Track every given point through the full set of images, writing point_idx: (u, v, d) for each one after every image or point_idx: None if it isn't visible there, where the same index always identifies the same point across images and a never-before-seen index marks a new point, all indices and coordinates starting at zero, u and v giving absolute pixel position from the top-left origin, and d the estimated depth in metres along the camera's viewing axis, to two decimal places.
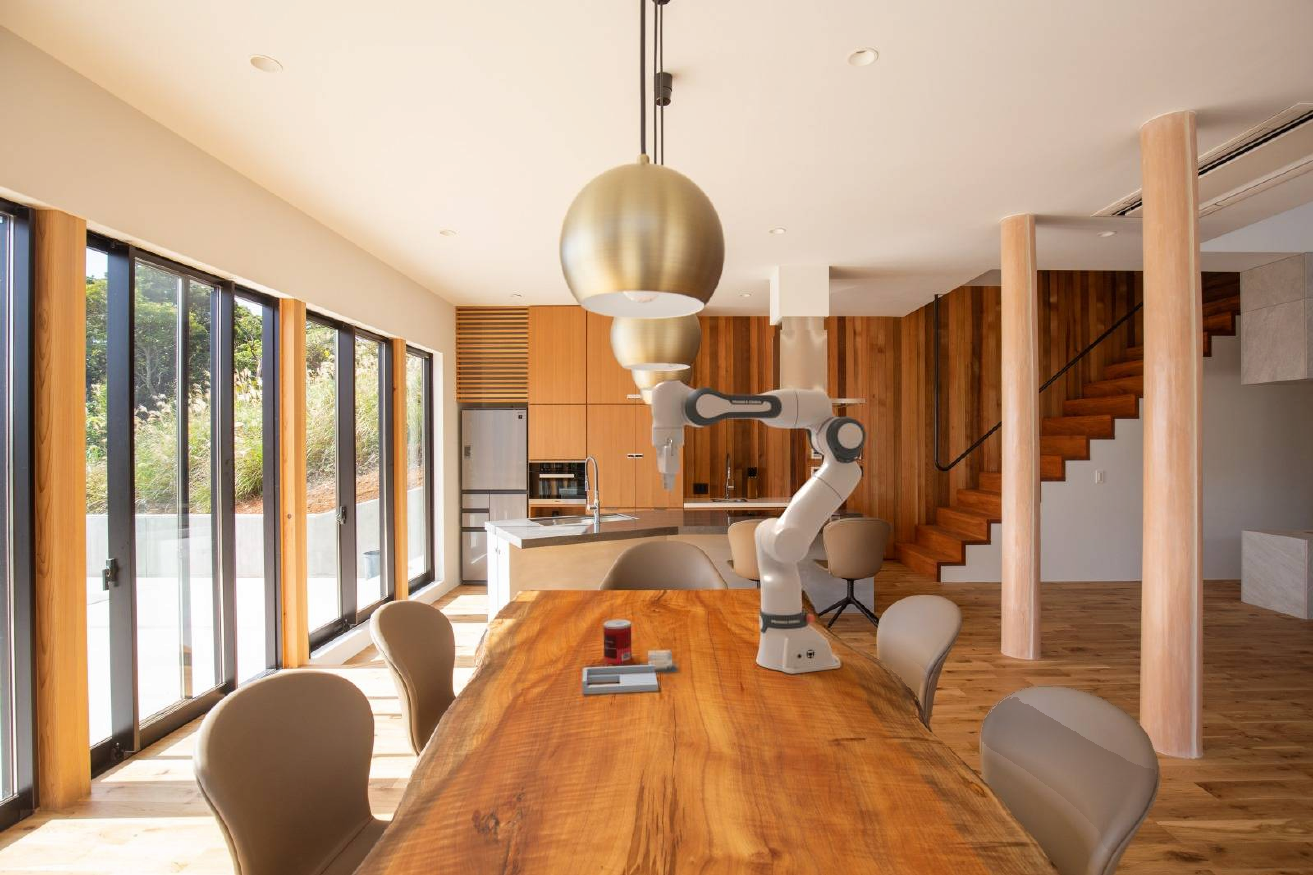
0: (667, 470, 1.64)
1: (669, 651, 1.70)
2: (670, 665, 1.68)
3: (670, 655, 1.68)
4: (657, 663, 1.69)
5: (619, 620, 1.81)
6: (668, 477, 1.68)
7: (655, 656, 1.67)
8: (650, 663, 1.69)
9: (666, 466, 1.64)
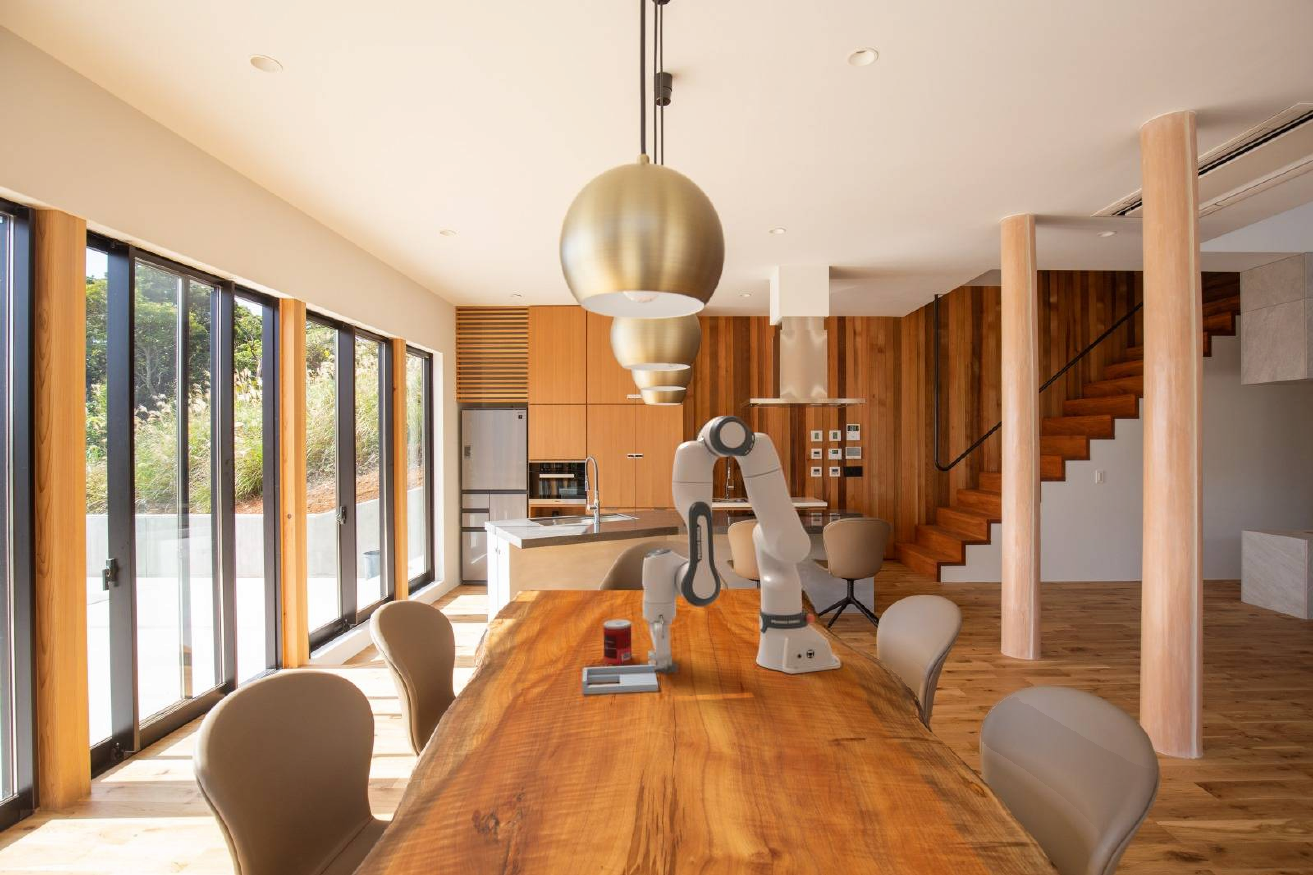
0: (658, 654, 1.60)
1: None
2: (670, 665, 1.68)
3: (670, 655, 1.68)
4: None
5: (619, 620, 1.81)
6: None
7: (655, 656, 1.67)
8: (650, 663, 1.69)
9: (657, 649, 1.60)
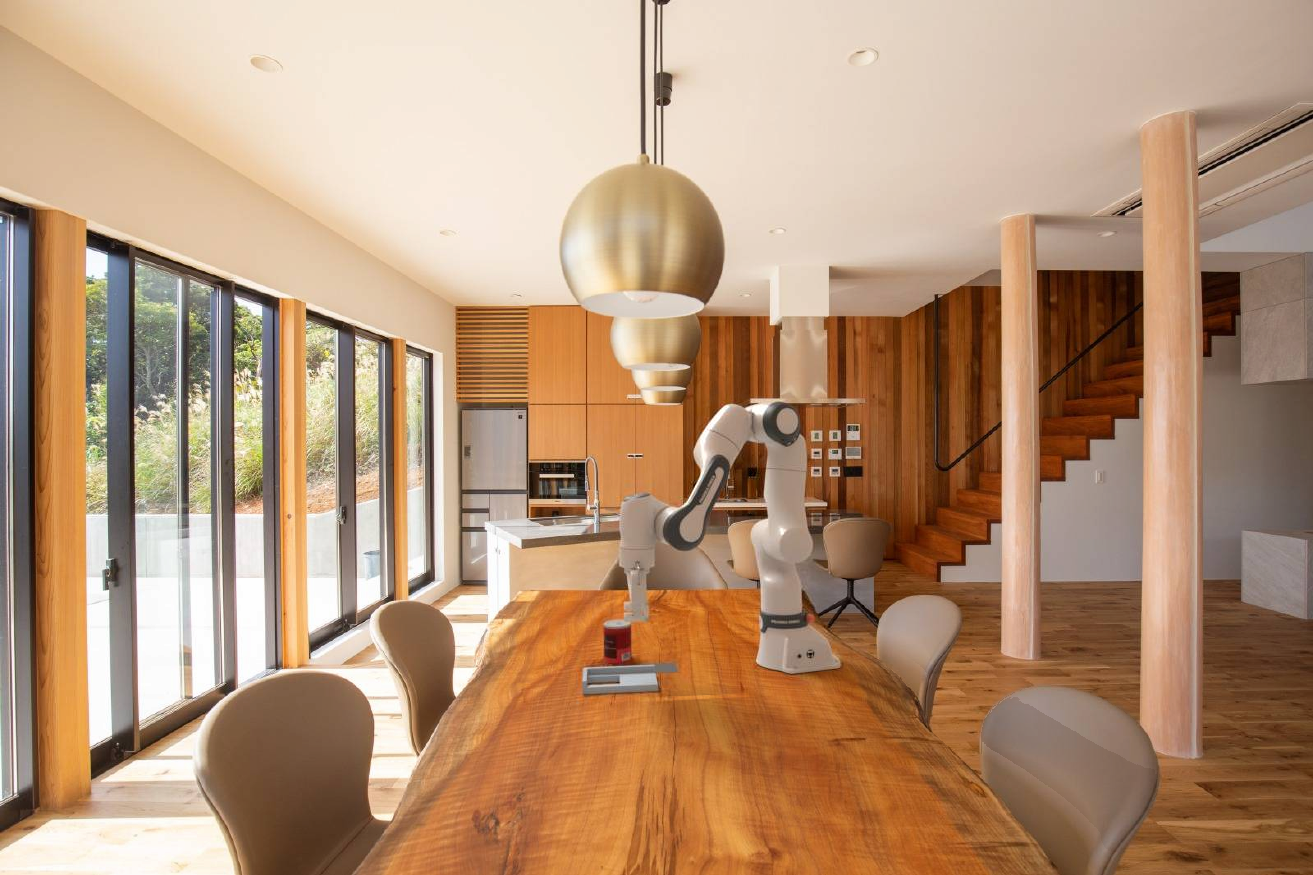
0: (633, 601, 1.48)
1: (646, 602, 1.59)
2: (647, 616, 1.56)
3: (647, 606, 1.56)
4: None
5: (619, 620, 1.81)
6: (634, 604, 1.54)
7: (631, 606, 1.56)
8: (626, 614, 1.58)
9: (632, 597, 1.48)
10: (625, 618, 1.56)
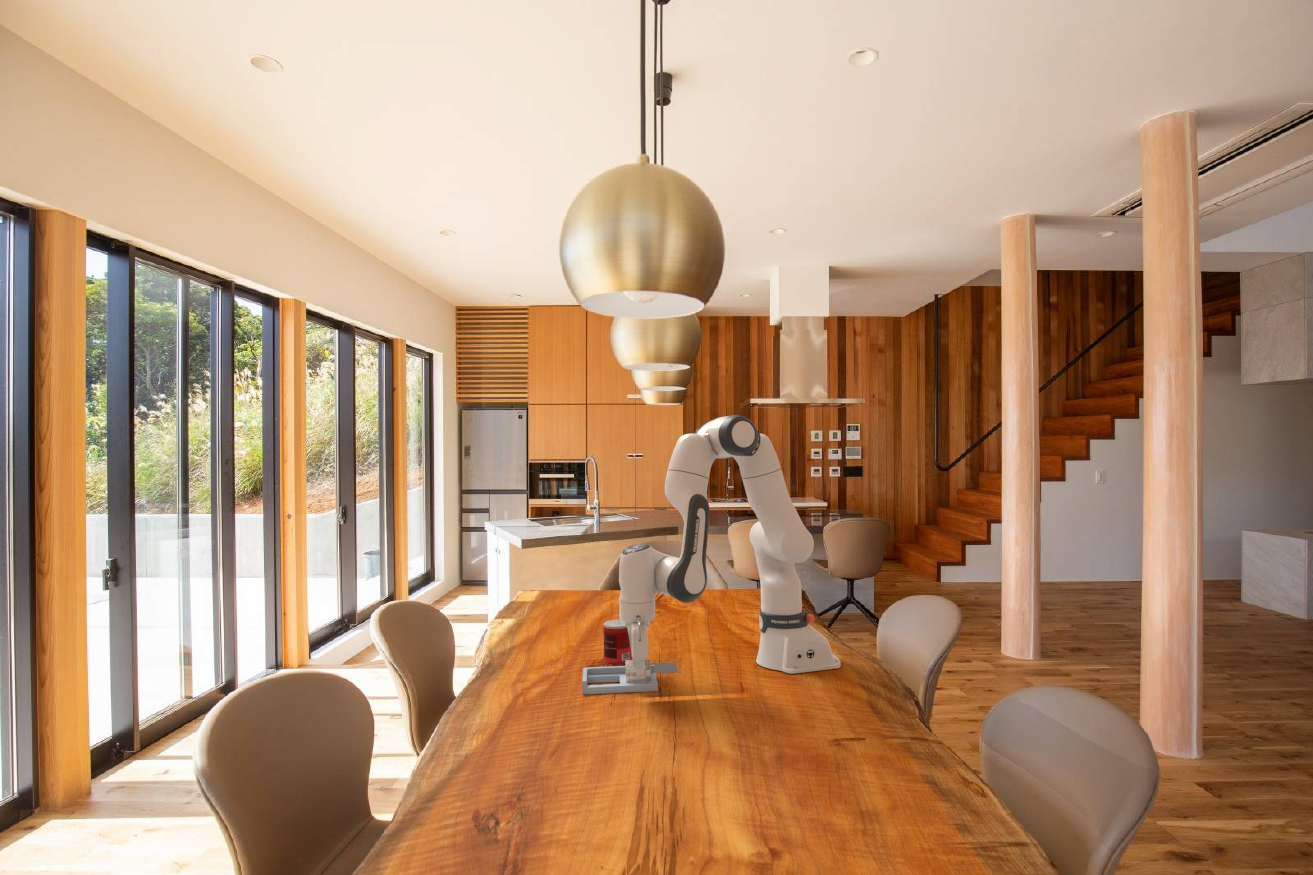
0: (634, 658, 1.47)
1: (648, 660, 1.58)
2: (648, 676, 1.55)
3: (648, 665, 1.55)
4: (635, 673, 1.57)
5: (619, 620, 1.81)
6: (636, 661, 1.51)
7: (632, 666, 1.55)
8: (627, 673, 1.57)
9: (633, 653, 1.47)
10: (627, 678, 1.55)
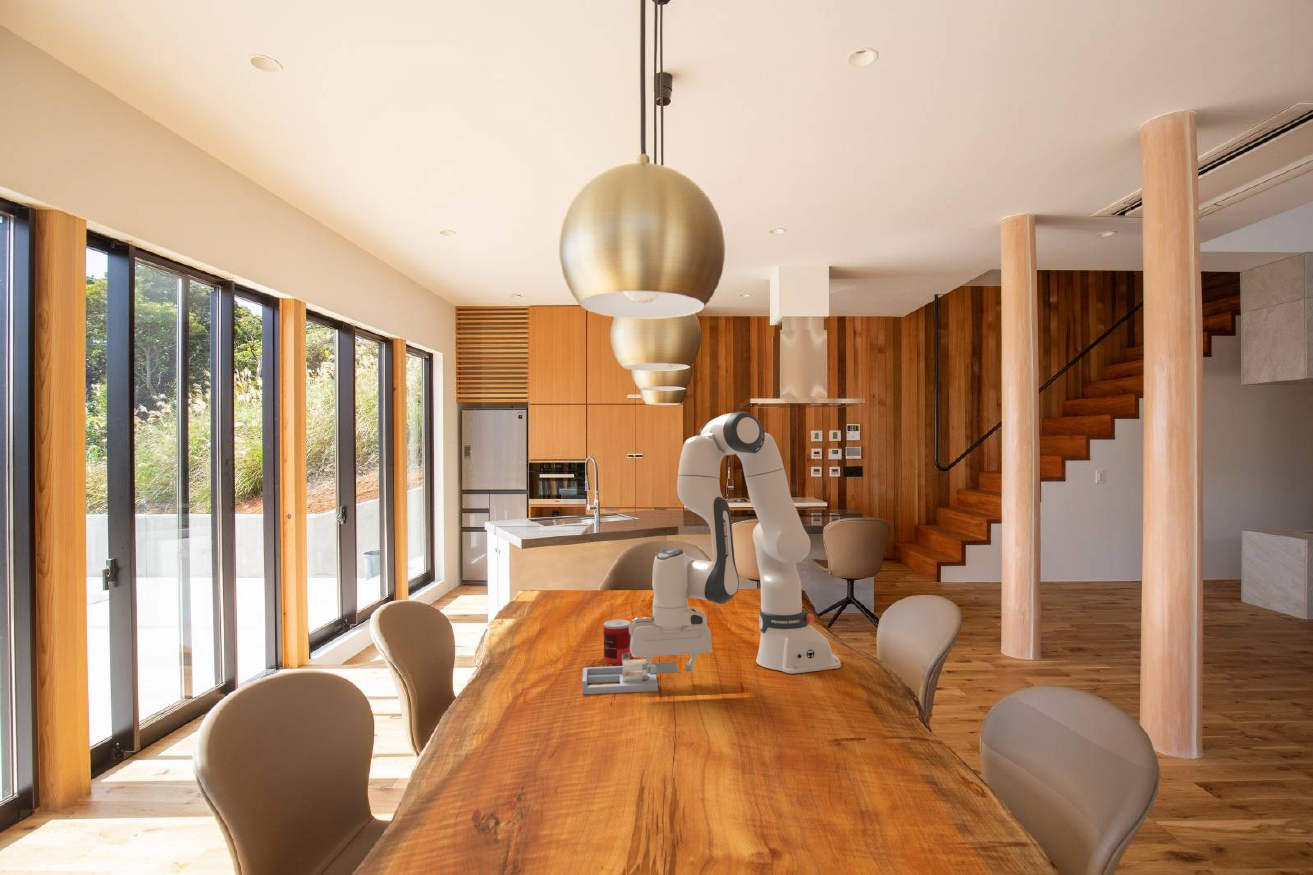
0: None
1: (645, 660, 1.58)
2: (645, 676, 1.55)
3: (645, 665, 1.55)
4: (632, 673, 1.57)
5: (619, 620, 1.81)
6: (645, 658, 1.57)
7: (629, 666, 1.55)
8: (624, 673, 1.57)
9: None
10: (623, 678, 1.55)
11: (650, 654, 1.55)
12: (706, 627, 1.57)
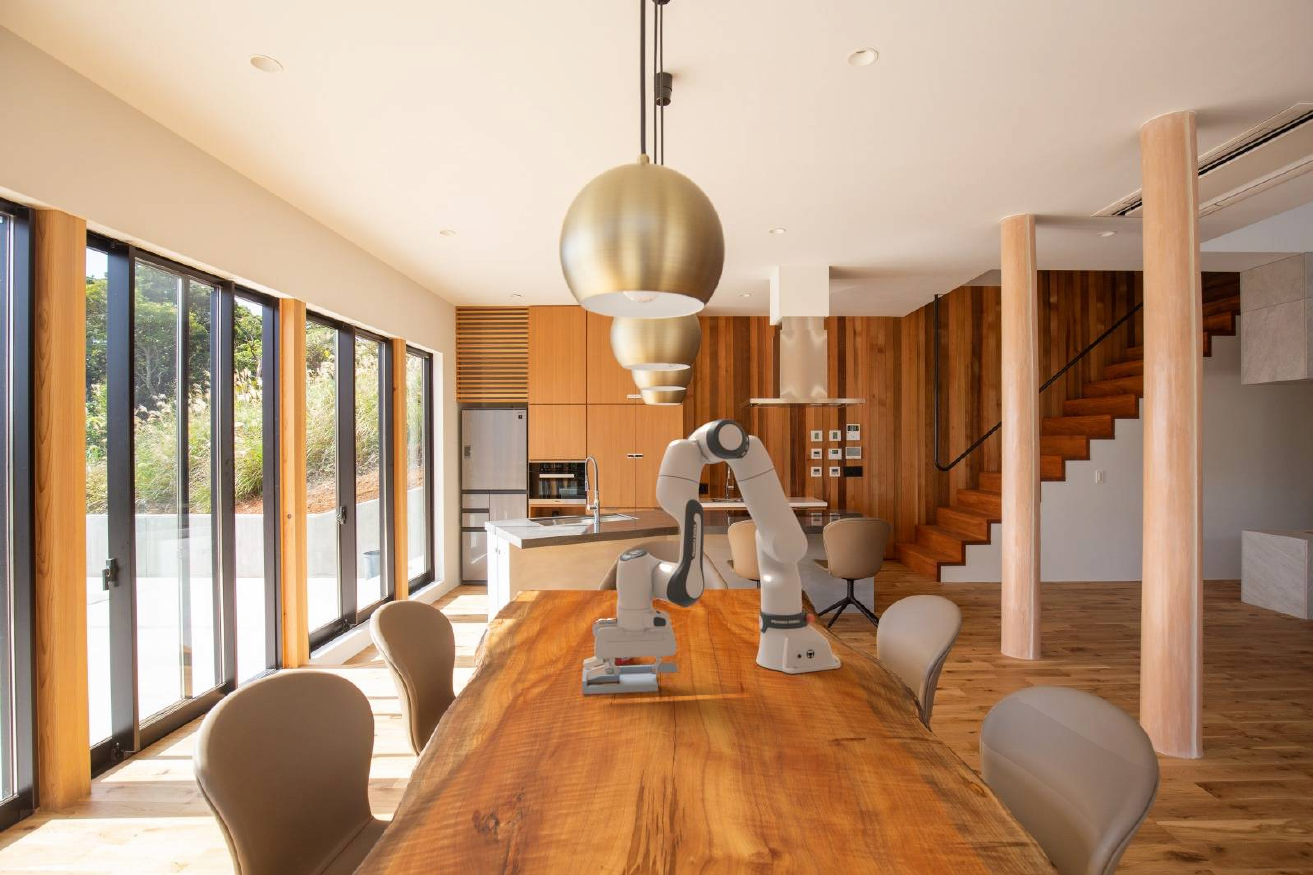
0: None
1: None
2: (608, 668, 1.55)
3: None
4: (596, 669, 1.57)
5: None
6: None
7: (590, 663, 1.55)
8: (588, 672, 1.56)
9: None
10: (588, 676, 1.54)
11: (613, 655, 1.55)
12: (670, 629, 1.55)
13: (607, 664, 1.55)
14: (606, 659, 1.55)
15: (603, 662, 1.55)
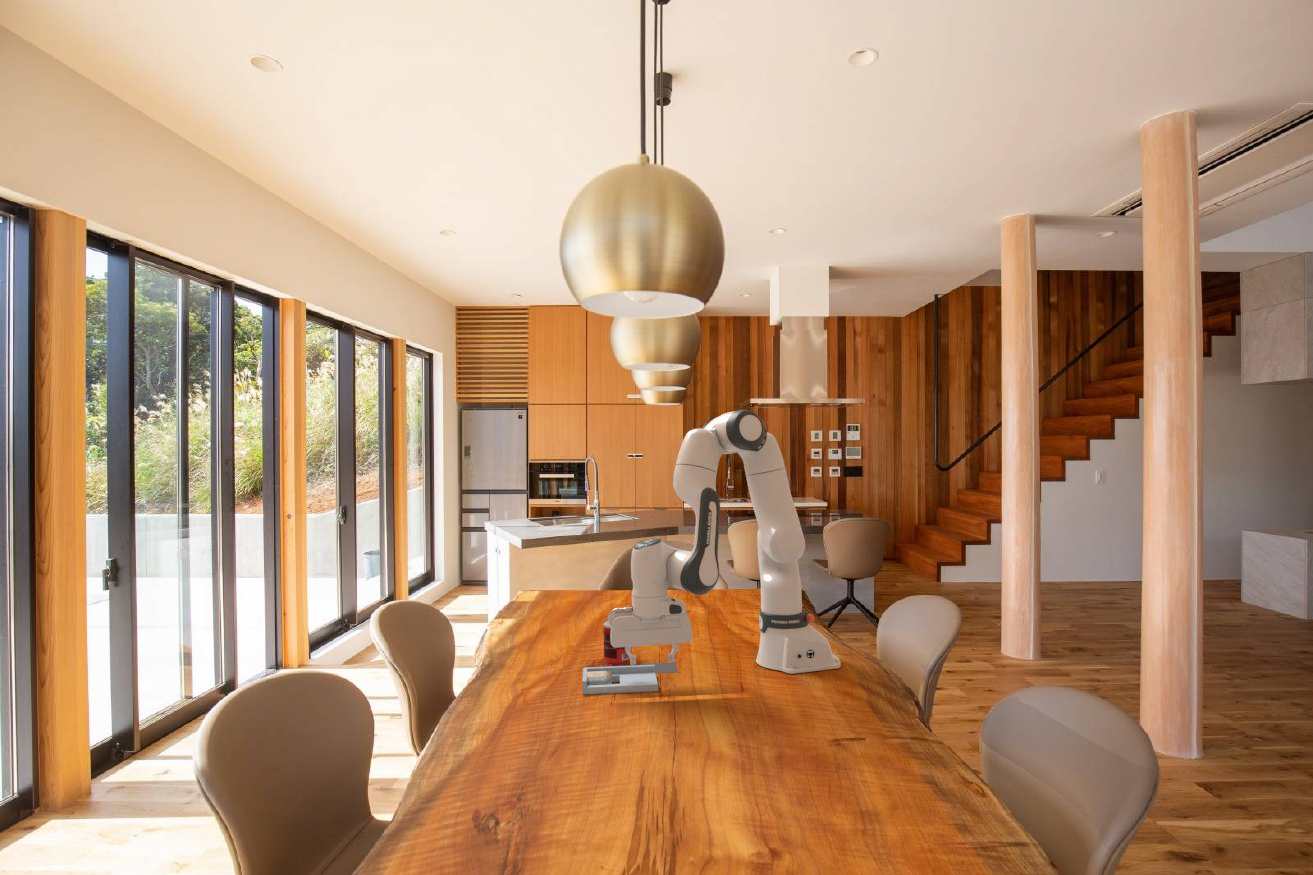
0: None
1: (610, 672, 1.58)
2: None
3: (610, 677, 1.55)
4: None
5: None
6: None
7: (593, 678, 1.55)
8: None
9: None
10: None
11: (630, 644, 1.55)
12: (686, 616, 1.56)
13: (610, 683, 1.55)
14: (610, 678, 1.55)
15: (607, 680, 1.55)
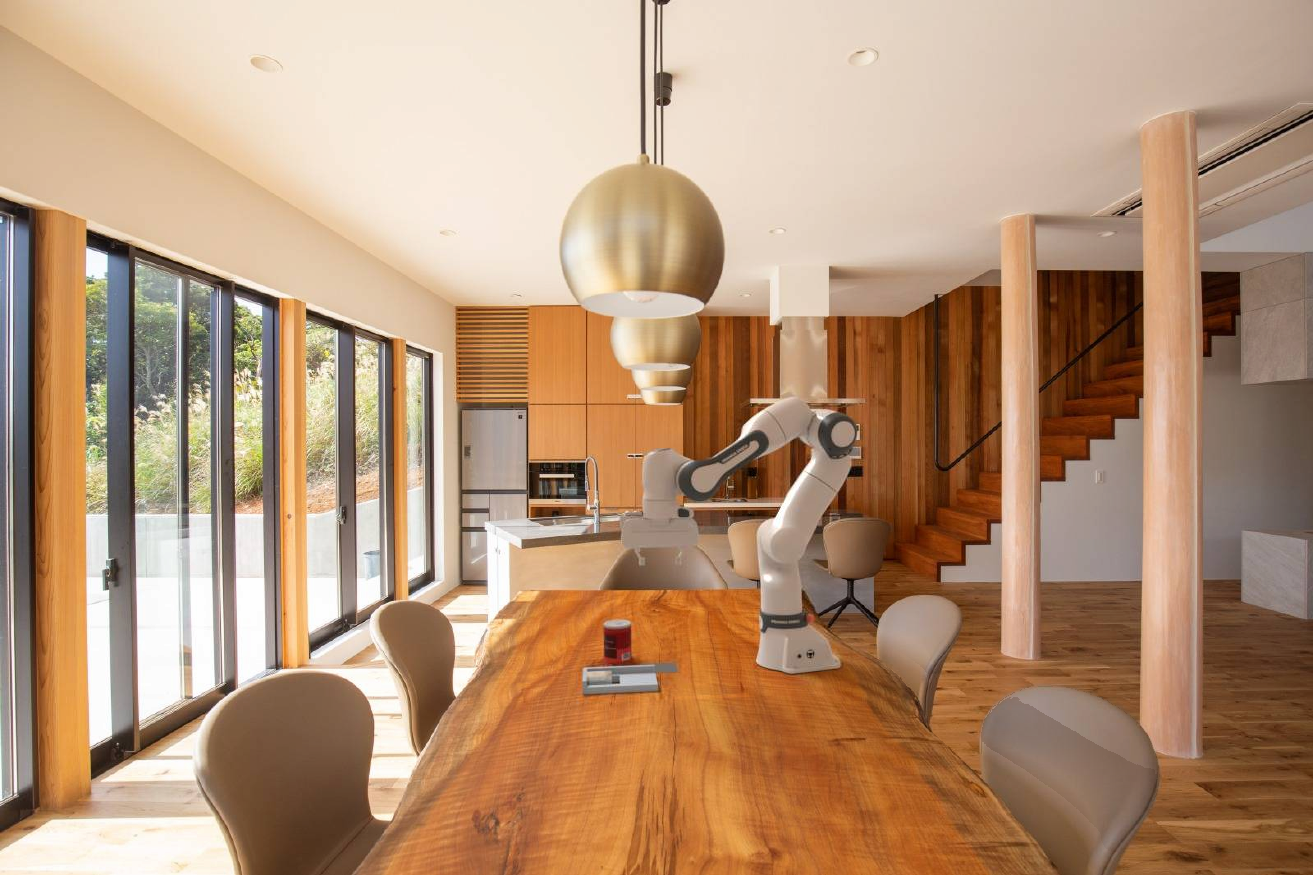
0: None
1: (610, 672, 1.58)
2: None
3: (610, 677, 1.55)
4: None
5: (619, 620, 1.81)
6: None
7: (593, 678, 1.55)
8: None
9: None
10: None
11: (639, 545, 1.63)
12: (693, 521, 1.64)
13: (610, 683, 1.55)
14: (610, 678, 1.55)
15: (607, 680, 1.55)
